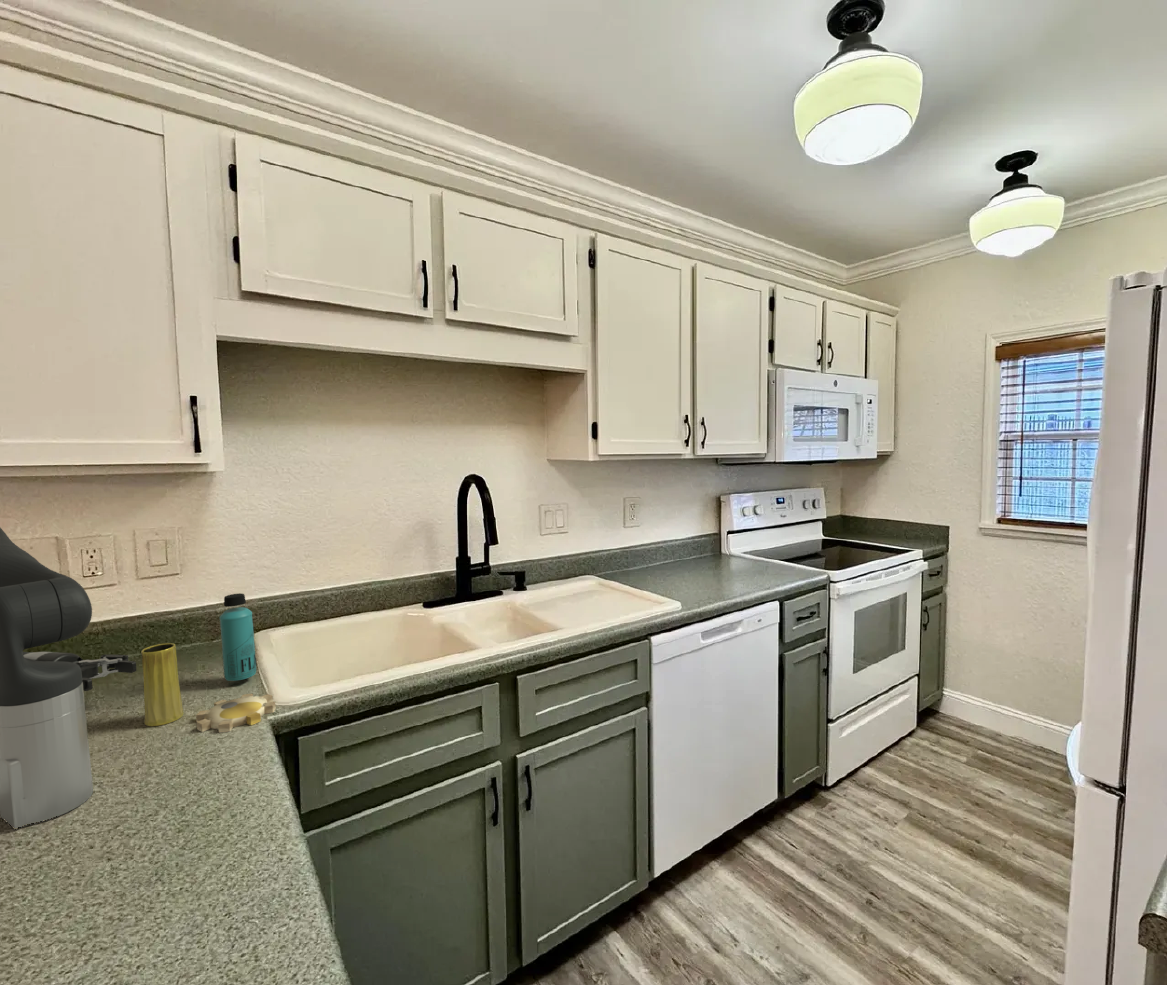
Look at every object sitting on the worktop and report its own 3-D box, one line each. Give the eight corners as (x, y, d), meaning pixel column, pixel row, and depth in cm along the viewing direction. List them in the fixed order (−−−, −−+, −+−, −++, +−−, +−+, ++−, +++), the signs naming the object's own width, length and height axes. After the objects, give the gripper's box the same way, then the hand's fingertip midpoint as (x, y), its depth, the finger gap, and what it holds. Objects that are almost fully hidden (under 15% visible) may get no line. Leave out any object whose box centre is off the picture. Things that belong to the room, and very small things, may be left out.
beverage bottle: (242, 688, 120) (235, 599, 119) (216, 686, 121) (209, 598, 120) (264, 676, 126) (258, 591, 125) (240, 674, 128) (234, 590, 126)
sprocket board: (218, 739, 99) (218, 731, 98) (182, 722, 105) (181, 715, 105) (289, 708, 110) (289, 701, 110) (252, 695, 117) (252, 688, 116)
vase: (191, 713, 109) (185, 643, 108) (160, 728, 103) (154, 654, 102) (168, 710, 111) (162, 641, 110) (136, 725, 105) (129, 652, 104)
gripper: (2, 667, 104) (72, 671, 101) (82, 641, 118) (146, 644, 115) (6, 705, 104) (76, 711, 102) (85, 675, 118) (149, 679, 116)
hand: (113, 675), depth 108 cm, fingers open, 8 cm apart
